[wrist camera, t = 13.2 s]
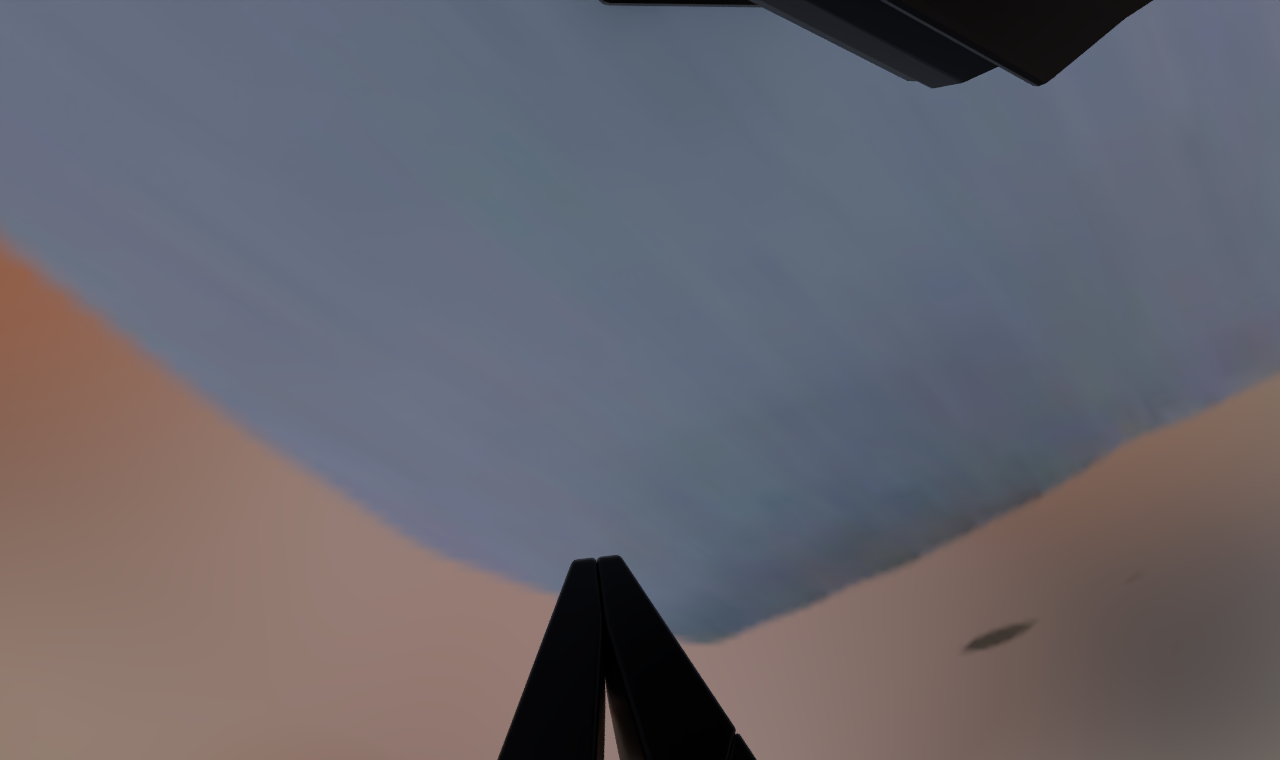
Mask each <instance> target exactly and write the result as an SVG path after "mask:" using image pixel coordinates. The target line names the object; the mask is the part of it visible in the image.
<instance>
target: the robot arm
mask: <svg viewBox="0 0 1280 760" xmlns="http://www.w3.org/2000/svg"><path fill="white" fill-rule="evenodd" d="M599 1H600V2H601V3H603V4H606V5H620V6H703V7H763V8H765V9H767V10H769V11H771V12H773V13H775V14H777V15H779V16H781V17H783V18H785V19H787V20H789V21H791V22H793V23H795V24H797V25H799V26H800V27H802V28H804V29H806V30H808V31H810V32H812V33H814V34H816V35H818V36H820V37H822V38H824V39H826V40H828V41H830V42H832V43H834V44H836V45H838V46H840V47H842V48H844V49H846V50H848V51H850V52H852V53H854V54H856V55H858V56H859V57H861V58H863V59H865V60H867V61H869V62H871V63H873V64H875V65H877V66H879V67H881V68H883V69H885V70H887V71H889V72H891V73H893V74H895V75H897V76H899V77H901V78H903V79H905V80H907V81H918V82H920V83H922V84H924V85H926V86H927V87H930V88H937V87H943V86H948V85H954V84H959V83H963V82H966V81H968V80H970V79H972V78H974V77H977V76H979V75H981V74H983V73H985V72H988V71H990V70H992V69H994V68H996V67H998V66H999V67H1000V68H1002V69H1004V70H1006V71H1008V72H1009V73H1011V74H1013V75H1015V76H1017V77H1018V78H1020V79H1022V80H1024V81H1026V82H1027V83H1029V84H1031V85H1033V86H1040V85H1043V84H1045V83H1047V82H1048V81H1050V80H1051V79H1052V78H1054V77H1055V76H1056V75H1057V74H1058V73H1060V72H1061V71H1062V70H1063V69H1064V68H1066V67H1067V66H1068V65H1069V64H1071V63H1072V62H1073V61H1074V60H1075V59H1077V58H1078V57H1079V56H1080V55H1081V54H1083V53H1084V52H1085V51H1086V50H1087V49H1089V48H1090V47H1091V46H1092V45H1094V44H1095V43H1096V42H1097V41H1098V40H1100V39H1101V38H1102V37H1103V36H1104V35H1106V34H1107V33H1108V32H1109V31H1110V30H1112V29H1113V28H1114V27H1115V26H1117V25H1118V24H1119V23H1120V22H1121V21H1123V20H1124V19H1125V18H1127V17H1128V16H1130V15H1131V14H1133V13H1134V12H1136V11H1137V10H1139V9H1140V8H1142V7H1144V6H1145V5H1147V4H1148V3H1150V2H1151V1H1153V0H599ZM605 682H606V689H607V690H606V691H607V697H608V703H609V708H610V713H611V718H612V723H613V728H614V733H615V738H616V744H617V748H618V754H619V758H620V760H756V758H755V757H754V755H753V754H752V752H751V751H750V749H749V748H748V746H747V745H746V743H745V742H744V740H743V739H742V737H741V736H740V734H738V733H737V734H735V731H736V729H735V727H734V725H733V724H732V722H731V721H730V719H729V718H728V716H727V715H726V714H725V712H724V710H723V709H722V707H721V706H720V704H719V703H718V702H717V700H716V698H715V697H714V696H713V694H712V692H711V691H710V689H709V688H708V686H707V685H706V683H705V682H704V680H703V679H702V678H701V676H700V674H699V673H698V672H697V670H696V668H695V667H694V666H693V664H692V663H691V661H690V659H689V658H688V657H687V655H686V653H685V652H684V650H683V649H682V647H681V646H680V644H679V643H678V641H677V640H676V638H675V637H674V635H673V634H672V632H671V631H670V629H669V628H668V626H667V625H666V623H665V622H664V620H663V619H662V617H661V616H660V614H659V613H658V611H657V610H656V608H655V607H654V605H653V604H652V602H651V601H650V599H649V598H648V596H647V595H646V593H645V592H644V590H643V589H642V587H641V586H640V584H639V583H638V581H637V580H636V578H635V577H634V575H633V574H632V572H631V571H630V569H629V568H628V566H627V565H626V563H625V562H624V560H623V559H622V558H621V557H620V556H619V555H612V556H603V557H599V558H598V559H597V562H596V560H595V559H594V558H586V559H577V560H574V561H573V562H572V564H571V566H570V568H569V571H568V574H567V576H566V579H565V582H564V584H563V587H562V590H561V592H560V595H559V598H558V600H557V603H556V606H555V609H554V611H553V613H552V616H551V619H550V621H549V624H548V627H547V629H546V632H545V635H544V638H543V640H542V643H541V646H540V648H539V651H538V653H537V656H536V659H535V661H534V664H533V667H532V669H531V672H530V675H529V677H528V680H527V683H526V685H525V688H524V691H523V693H522V696H521V698H520V701H519V704H518V706H517V709H516V712H515V715H514V717H513V720H512V723H511V725H510V728H509V731H508V733H507V736H506V738H505V741H504V744H503V746H502V749H501V752H500V754H499V757H498V760H604V745H605Z"/></svg>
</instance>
